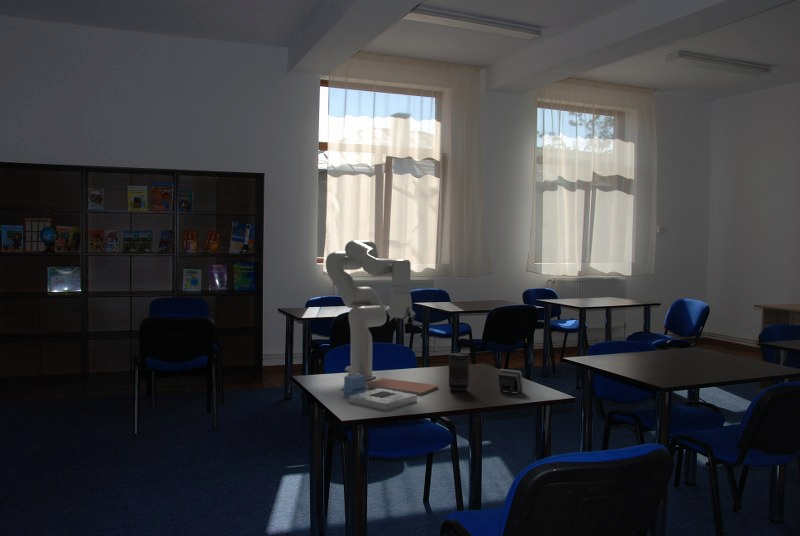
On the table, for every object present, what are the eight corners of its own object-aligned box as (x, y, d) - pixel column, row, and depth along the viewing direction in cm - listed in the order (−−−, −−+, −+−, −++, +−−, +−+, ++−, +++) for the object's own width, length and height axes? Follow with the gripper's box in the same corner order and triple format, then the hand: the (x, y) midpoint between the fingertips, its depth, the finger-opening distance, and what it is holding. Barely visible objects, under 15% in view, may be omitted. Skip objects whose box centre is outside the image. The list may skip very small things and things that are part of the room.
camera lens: (457, 388, 263) (457, 351, 262) (472, 391, 257) (473, 354, 257) (444, 391, 257) (444, 353, 257) (459, 394, 251) (460, 356, 251)
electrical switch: (523, 392, 256) (523, 370, 255) (519, 396, 252) (518, 373, 251) (501, 390, 261) (501, 367, 260) (496, 393, 256) (496, 370, 255)
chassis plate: (348, 402, 236) (348, 395, 236) (379, 394, 250) (380, 388, 250) (385, 410, 225) (385, 403, 225) (416, 401, 239) (416, 394, 239)
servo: (349, 399, 242) (349, 377, 242) (340, 397, 245) (340, 375, 244) (368, 394, 250) (368, 373, 250) (359, 392, 253) (360, 371, 253)
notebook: (361, 389, 261) (361, 384, 261) (382, 382, 276) (382, 377, 276) (419, 397, 247) (419, 392, 247) (439, 389, 262) (439, 384, 262)
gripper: (381, 289, 264) (380, 330, 265) (407, 291, 251) (406, 335, 251) (395, 288, 269) (395, 329, 269) (421, 290, 255) (421, 333, 256)
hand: (400, 331), depth 260 cm, fingers open, 9 cm apart
